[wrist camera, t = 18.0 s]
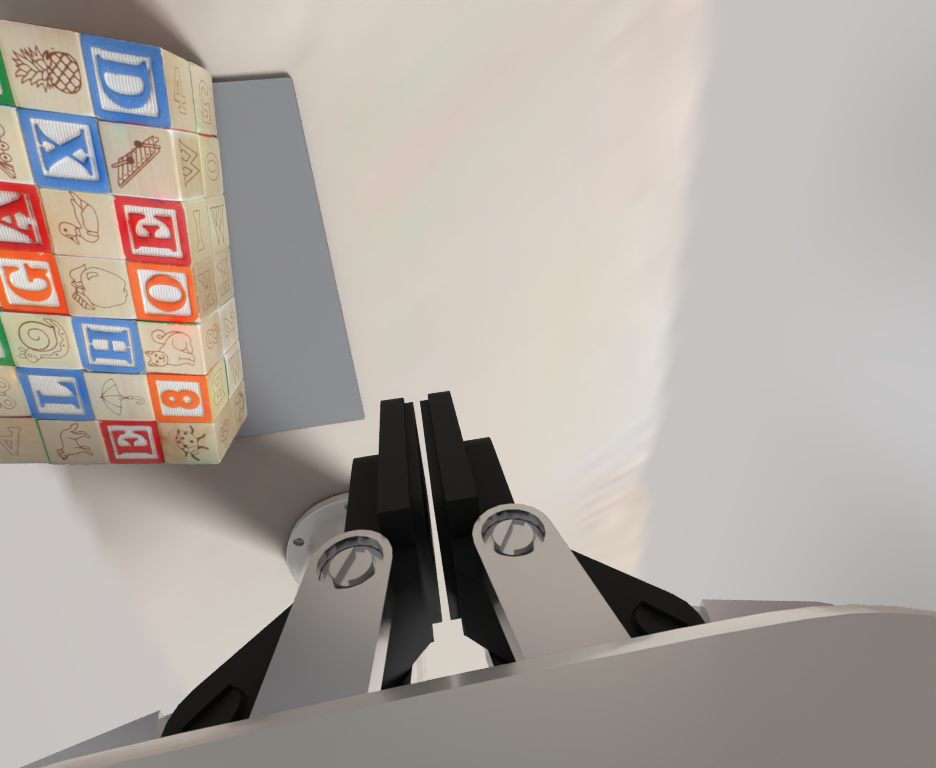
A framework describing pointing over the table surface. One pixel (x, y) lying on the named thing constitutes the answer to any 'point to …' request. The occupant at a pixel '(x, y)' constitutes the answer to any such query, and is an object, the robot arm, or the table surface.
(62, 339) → the stack of blocks
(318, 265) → the mat
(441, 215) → the table surface
